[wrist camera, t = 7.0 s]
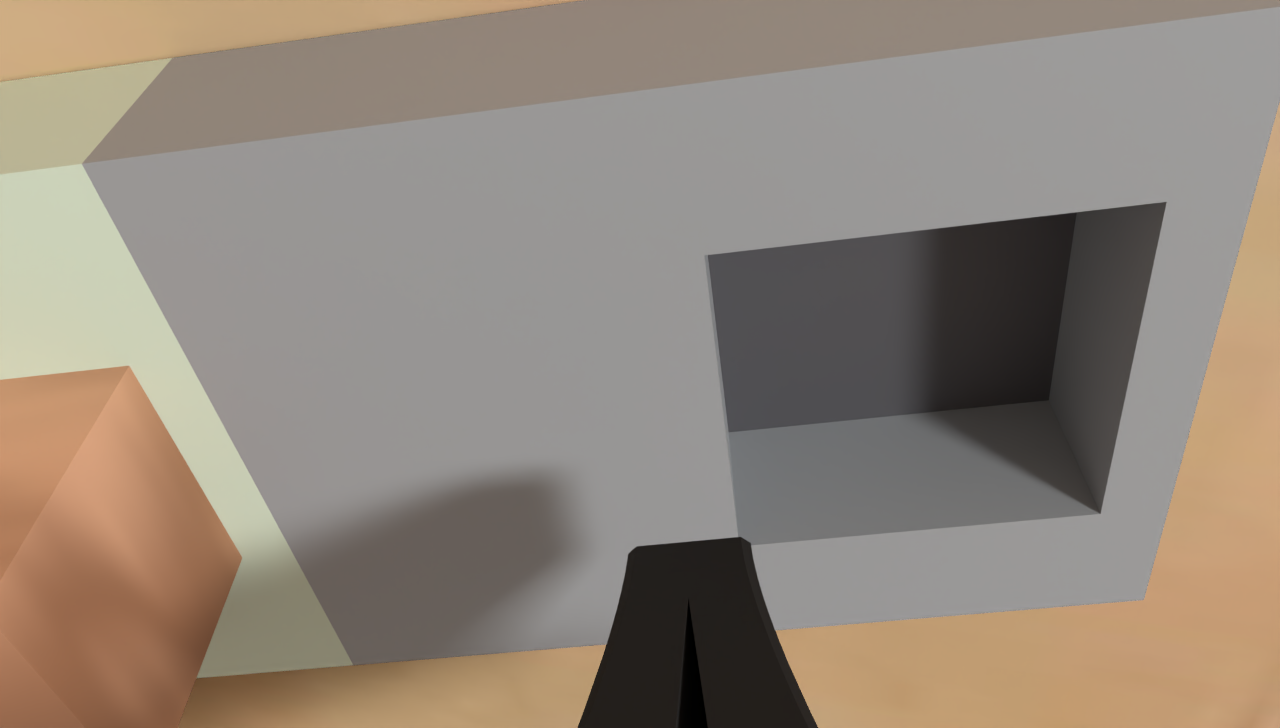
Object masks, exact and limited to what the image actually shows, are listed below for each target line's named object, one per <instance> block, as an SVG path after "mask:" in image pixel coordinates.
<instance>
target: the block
mask: <svg viewBox="0 0 1280 728" xmlns="http://www.w3.org/2000/svg"><path fill="white" fill-rule="evenodd" d="M241 560H242V556H241V555H240V553H239V551H238V549H237V548H236V546H235V544H234V543H233V541H232V539H231V538H230V536H229V534H228V532H227V531H226V529H225V527H224V526H223V524H222V522H221V521H220V519H219V517H218V515H217V514H216V512H215V510H214V509H213V507H212V505H211V504H210V502H209V500H208V499H207V497H206V495H205V493H204V492H203V490H202V488H201V487H200V485H199V483H198V482H197V480H196V478H195V476H194V475H193V473H192V471H191V470H190V468H189V466H188V465H187V463H186V461H185V459H184V458H183V456H182V454H181V453H180V451H179V449H178V448H177V446H176V444H175V442H174V441H173V439H172V437H171V436H170V434H169V432H168V431H167V429H166V427H165V425H164V424H163V422H162V420H161V419H160V417H159V415H158V414H157V412H156V410H155V408H154V407H153V405H152V403H151V402H150V400H149V398H148V397H147V395H146V393H145V392H144V390H143V388H142V386H141V385H140V383H139V381H138V380H137V378H136V376H135V375H134V373H133V371H132V369H131V368H130V366H121V367H112V368H103V369H94V370H85V371H76V372H67V373H58V374H48V375H39V376H30V377H21V378H12V379H3V380H0V728H178V725H179V723H180V720H181V717H182V715H183V712H184V709H185V707H186V704H187V702H188V699H189V696H190V694H191V691H192V689H193V686H194V683H195V681H196V678H197V675H198V673H199V670H200V668H201V665H202V662H203V660H204V657H205V654H206V652H207V649H208V647H209V644H210V641H211V639H212V636H213V634H214V631H215V628H216V626H217V623H218V620H219V618H220V615H221V613H222V610H223V607H224V605H225V602H226V600H227V597H228V594H229V592H230V589H231V586H232V584H233V581H234V579H235V576H236V573H237V571H238V568H239V566H240V563H241Z"/></svg>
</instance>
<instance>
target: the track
mask: <svg viewBox="0 0 1280 728" xmlns="http://www.w3.org/2000/svg"><path fill="white" fill-rule="evenodd" d="M1279 101H1280V0H583V1H576V2H569V3H562V4H554V5H547V6H540V7H533V8H526V9H519V10H511V11H504V12H497V13H490V14H483V15H476V16H469V17H461V18H454V19H447V20H440V21H433V22H426V23H418V24H411V25H404V26H397V27H390V28H383V29H376V30H368V31H361V32H354V33H347V34H340V35H333V36H325V37H318V38H311V39H304V40H297V41H290V42H283V43H275V44H268V45H261V46H254V47H247V48H240V49H232V50H225V51H218V52H211V53H204V54H197V55H190V56H182V57H175V58H168V59H161V60H154V61H147V62H139V63H132V64H125V65H118V66H111V67H104V68H97V69H89V70H82V71H75V72H68V73H61V74H54V75H46V76H39V77H32V78H25V79H18V80H11V81H4V82H0V380H3V379H12V378H21V377H30V376H39V375H48V374H58V373H67V372H76V371H85V370H94V369H103V368H112V367H121V366H130V368H131V369H132V371H133V373H134V375H135V376H136V378H137V380H138V381H139V383H140V385H141V386H142V388H143V390H144V392H145V393H146V395H147V397H148V398H149V400H150V402H151V403H152V405H153V407H154V408H155V410H156V412H157V414H158V415H159V417H160V419H161V420H162V422H163V424H164V425H165V427H166V429H167V431H168V432H169V434H170V436H171V437H172V439H173V441H174V442H175V444H176V446H177V448H178V449H179V451H180V453H181V454H182V456H183V458H184V459H185V461H186V463H187V465H188V466H189V468H190V470H191V471H192V473H193V475H194V476H195V478H196V480H197V482H198V483H199V485H200V487H201V488H202V490H203V492H204V493H205V495H206V497H207V499H208V500H209V502H210V504H211V505H212V507H213V509H214V510H215V512H216V514H217V515H218V517H219V519H220V521H221V522H222V524H223V526H224V527H225V529H226V531H227V532H228V534H229V536H230V538H231V539H232V541H233V543H234V544H235V546H236V548H237V549H238V551H239V553H240V555H241V556H242V560H241V563H240V566H239V568H238V571H237V573H236V576H235V579H234V581H233V584H232V586H231V589H230V592H229V594H228V597H227V600H226V602H225V605H224V607H223V610H222V613H221V615H220V618H219V620H218V623H217V626H216V628H215V631H214V634H213V636H212V639H211V641H210V644H209V647H208V649H207V652H206V654H205V657H204V660H203V662H202V665H201V668H200V670H199V673H198V675H197V678H206V677H218V676H230V675H242V674H254V673H266V672H278V671H290V670H302V669H314V668H327V667H339V666H351V665H363V664H375V663H387V662H399V661H411V660H423V659H435V658H448V657H460V656H472V655H484V654H496V653H508V652H520V651H532V650H544V649H556V648H568V647H581V646H593V645H605V644H607V641H608V638H609V635H610V631H611V628H612V625H613V621H614V618H615V614H616V610H617V606H618V602H619V598H620V594H621V590H622V585H623V581H624V576H625V571H626V565H627V558H628V553H630V552H631V551H632V550H633V549H634V548H635V547H636V546H646V545H657V544H668V543H679V542H689V541H700V540H711V539H722V538H733V537H742V538H743V539H745V540H747V541H748V542H750V543H751V548H752V554H753V560H754V564H755V568H756V573H757V577H758V580H759V584H760V587H761V591H762V594H763V597H764V600H765V603H766V606H767V610H768V612H769V615H770V618H771V620H772V623H773V626H774V629H775V630H786V629H798V628H810V627H823V626H835V625H847V624H859V623H871V622H883V621H895V620H907V619H919V618H931V617H943V616H956V615H968V614H980V613H992V612H1004V611H1016V610H1028V609H1040V608H1052V607H1064V606H1077V605H1089V604H1101V603H1113V602H1125V601H1137V600H1144V597H1145V593H1146V590H1147V586H1148V582H1149V579H1150V575H1151V571H1152V568H1153V564H1154V560H1155V557H1156V553H1157V549H1158V546H1159V542H1160V538H1161V535H1162V531H1163V527H1164V524H1165V520H1166V516H1167V513H1168V509H1169V505H1170V502H1171V498H1172V494H1173V491H1174V487H1175V483H1176V480H1177V476H1178V472H1179V469H1180V465H1181V461H1182V457H1183V454H1184V450H1185V446H1186V443H1187V439H1188V435H1189V432H1190V428H1191V424H1192V421H1193V417H1194V413H1195V410H1196V406H1197V402H1198V399H1199V395H1200V391H1201V388H1202V384H1203V380H1204V377H1205V373H1206V369H1207V366H1208V362H1209V358H1210V355H1211V351H1212V347H1213V344H1214V340H1215V336H1216V333H1217V329H1218V325H1219V322H1220V318H1221V314H1222V311H1223V307H1224V303H1225V300H1226V296H1227V292H1228V289H1229V285H1230V281H1231V278H1232V274H1233V270H1234V267H1235V263H1236V259H1237V256H1238V252H1239V248H1240V245H1241V241H1242V237H1243V234H1244V230H1245V226H1246V223H1247V219H1248V215H1249V212H1250V208H1251V204H1252V201H1253V197H1254V193H1255V190H1256V186H1257V182H1258V178H1259V175H1260V171H1261V167H1262V164H1263V160H1264V156H1265V153H1266V149H1267V145H1268V142H1269V138H1270V134H1271V131H1272V127H1273V123H1274V120H1275V116H1276V112H1277V109H1278V105H1279Z"/></svg>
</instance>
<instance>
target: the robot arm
mask: <svg viewBox="0 0 1280 728" xmlns="http://www.w3.org/2000/svg"><path fill="white" fill-rule="evenodd" d="M578 728H818V727H817V725H816V722H815V720H814V718H813V716H812V714H811V712H810V710H809V708H808V706H807V704H806V701H805V699H804V697H803V695H802V693H801V690H800V688H799V686H798V684H797V681H796V679H795V677H794V675H793V673H792V670H791V668H790V666H789V664H788V661H787V659H786V657H785V654H784V652H783V649H782V647H781V644H780V642H779V639H778V637H777V634H776V631H775V629H774V626H773V623H772V620H771V618H770V615H769V612H768V610H767V606H766V603H765V600H764V597H763V594H762V591H761V587H760V584H759V580H758V577H757V573H756V568H755V564H754V560H753V554H752V548H751V543H750V542H748V541H747V540H745V539H743V538H742V537H733V538H722V539H711V540H700V541H689V542H679V543H668V544H657V545H646V546H636V547H635V548H634V549H633V550H632V551H631V552H630V553H628V558H627V565H626V571H625V576H624V581H623V585H622V590H621V594H620V598H619V602H618V606H617V610H616V614H615V618H614V621H613V625H612V628H611V631H610V635H609V638H608V641H607V645H606V648H605V651H604V655H603V658H602V661H601V663H600V666H599V669H598V672H597V675H596V678H595V681H594V684H593V686H592V689H591V692H590V695H589V698H588V701H587V704H586V707H585V709H584V712H583V715H582V718H581V720H580V723H579V725H578Z"/></svg>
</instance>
